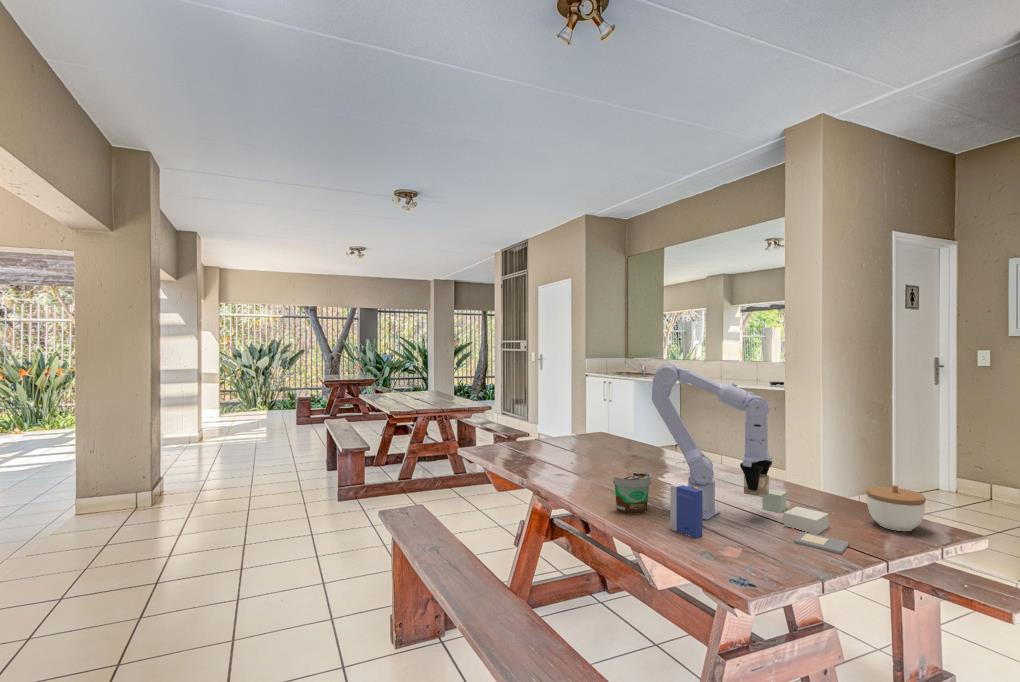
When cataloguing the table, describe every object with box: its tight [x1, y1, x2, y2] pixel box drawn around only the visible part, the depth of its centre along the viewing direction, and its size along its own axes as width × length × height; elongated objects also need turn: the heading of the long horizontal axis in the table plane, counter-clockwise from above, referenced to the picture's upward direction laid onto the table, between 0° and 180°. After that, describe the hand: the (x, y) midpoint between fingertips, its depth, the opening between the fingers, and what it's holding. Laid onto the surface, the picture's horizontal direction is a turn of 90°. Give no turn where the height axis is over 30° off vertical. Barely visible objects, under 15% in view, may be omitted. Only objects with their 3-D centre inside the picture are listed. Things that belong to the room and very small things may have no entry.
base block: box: [783, 506, 829, 535], centre depth 139 cm, size 8×8×4 cm
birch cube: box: [743, 474, 770, 498], centre depth 146 cm, size 5×5×5 cm
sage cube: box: [762, 488, 787, 513], centre depth 153 cm, size 5×5×5 cm
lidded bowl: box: [865, 484, 926, 532], centre depth 138 cm, size 13×13×11 cm
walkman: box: [669, 483, 703, 539], centre depth 135 cm, size 8×3×12 cm, turn 35°
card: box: [793, 531, 850, 555], centre depth 127 cm, size 8×10×1 cm
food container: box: [612, 472, 653, 515], centre depth 152 cm, size 12×6×10 cm, turn 114°
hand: (756, 488), depth 146 cm, fingers closed on birch cube, 5 cm apart
